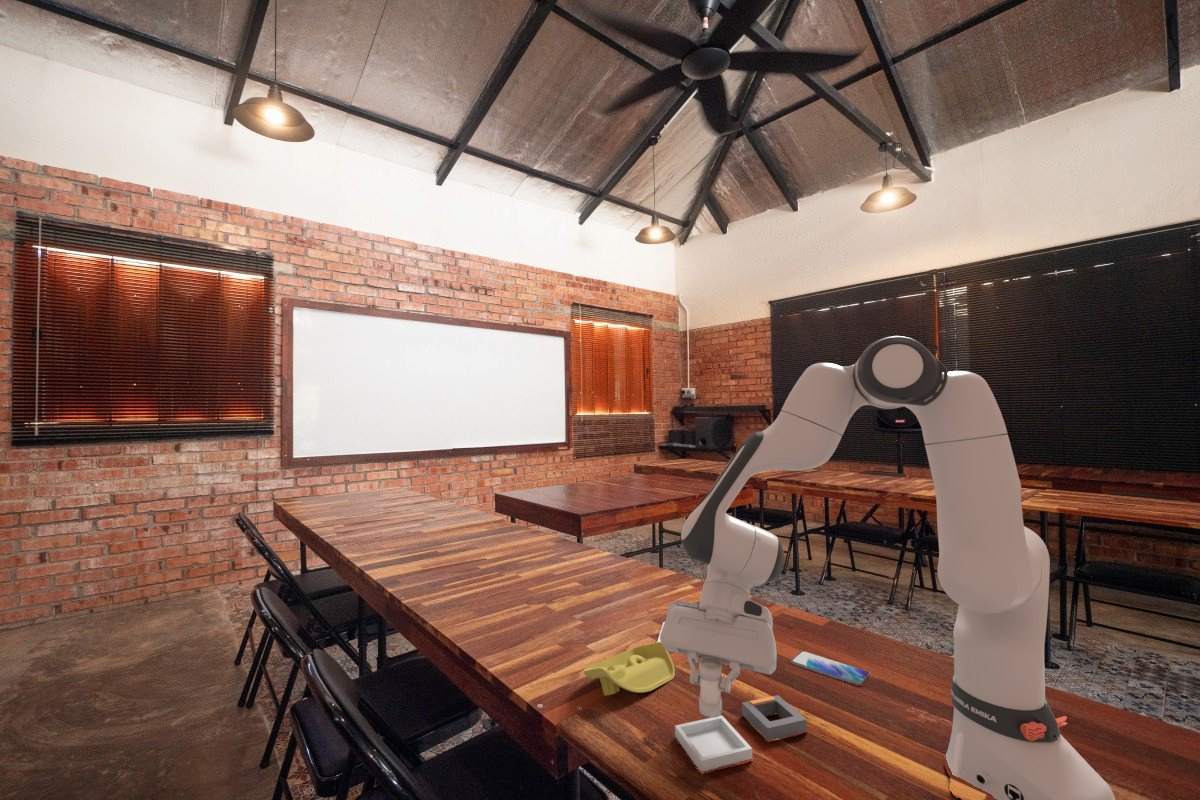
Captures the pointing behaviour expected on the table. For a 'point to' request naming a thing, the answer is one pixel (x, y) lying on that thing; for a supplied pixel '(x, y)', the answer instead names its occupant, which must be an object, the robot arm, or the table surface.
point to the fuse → (710, 687)
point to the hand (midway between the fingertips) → (709, 687)
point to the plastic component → (634, 669)
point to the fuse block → (777, 728)
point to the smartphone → (829, 667)
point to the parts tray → (712, 743)
